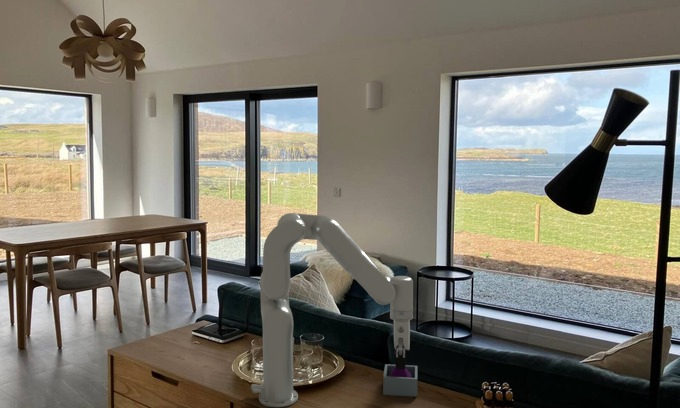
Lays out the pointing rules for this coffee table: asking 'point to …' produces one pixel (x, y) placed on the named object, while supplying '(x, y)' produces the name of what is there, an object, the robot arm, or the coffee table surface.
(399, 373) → the perfume bottle
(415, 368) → the walled box
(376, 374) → the coffee table surface
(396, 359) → the robot arm
